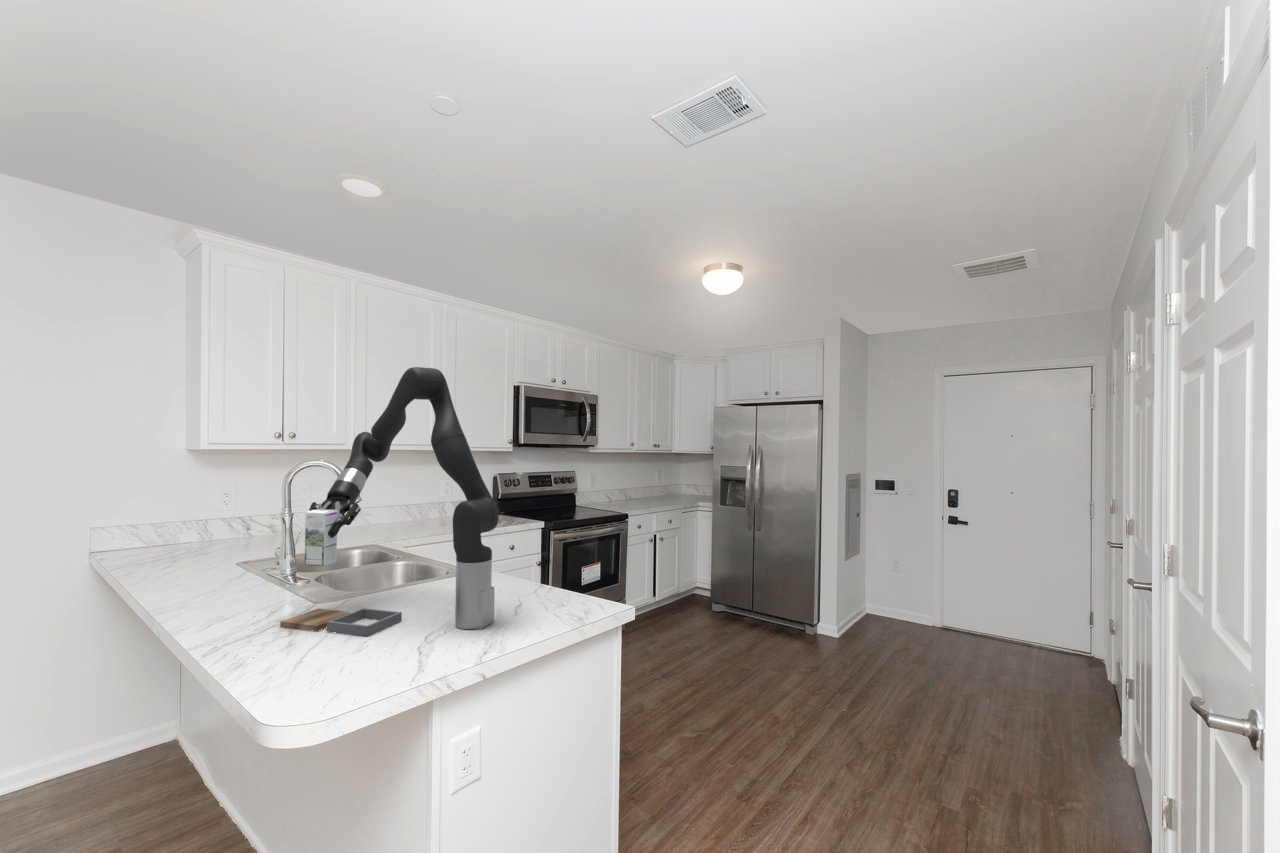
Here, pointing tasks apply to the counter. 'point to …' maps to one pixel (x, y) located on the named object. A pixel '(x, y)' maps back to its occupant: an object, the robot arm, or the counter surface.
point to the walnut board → (312, 619)
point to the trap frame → (346, 627)
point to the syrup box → (320, 538)
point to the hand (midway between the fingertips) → (319, 535)
